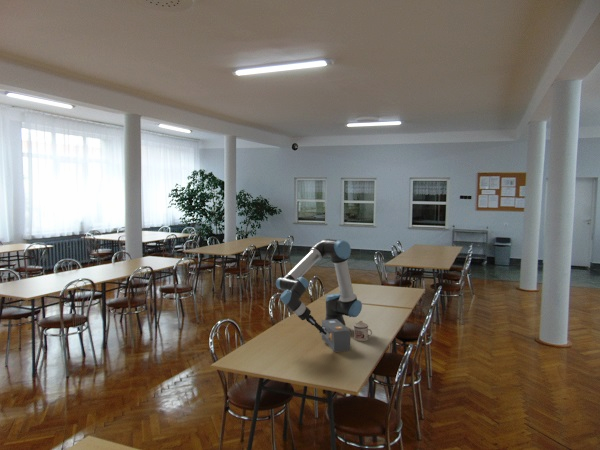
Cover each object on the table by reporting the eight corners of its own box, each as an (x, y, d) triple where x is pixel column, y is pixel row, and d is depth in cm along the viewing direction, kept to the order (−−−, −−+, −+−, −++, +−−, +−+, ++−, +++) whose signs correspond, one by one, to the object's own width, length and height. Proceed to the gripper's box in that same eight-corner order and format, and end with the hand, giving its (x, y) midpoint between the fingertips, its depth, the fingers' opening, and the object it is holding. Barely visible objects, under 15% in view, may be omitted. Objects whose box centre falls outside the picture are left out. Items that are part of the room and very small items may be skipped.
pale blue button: (324, 333, 264) (324, 326, 263) (327, 335, 259) (327, 328, 259) (319, 333, 263) (319, 326, 263) (321, 335, 259) (321, 328, 258)
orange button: (335, 338, 253) (335, 331, 252) (337, 341, 249) (337, 334, 248) (329, 339, 252) (329, 332, 252) (332, 341, 248) (332, 334, 247)
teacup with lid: (351, 340, 264) (351, 321, 264) (357, 335, 272) (356, 318, 272) (369, 343, 258) (369, 324, 258) (374, 338, 266) (374, 320, 266)
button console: (336, 337, 270) (336, 318, 269) (350, 350, 247) (350, 329, 246) (321, 338, 267) (321, 319, 267) (334, 352, 244) (334, 331, 243)
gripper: (294, 313, 250) (321, 338, 255) (300, 319, 237) (328, 345, 242) (303, 303, 251) (329, 329, 256) (309, 309, 238) (336, 335, 243)
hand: (328, 336), depth 249 cm, fingers closed
